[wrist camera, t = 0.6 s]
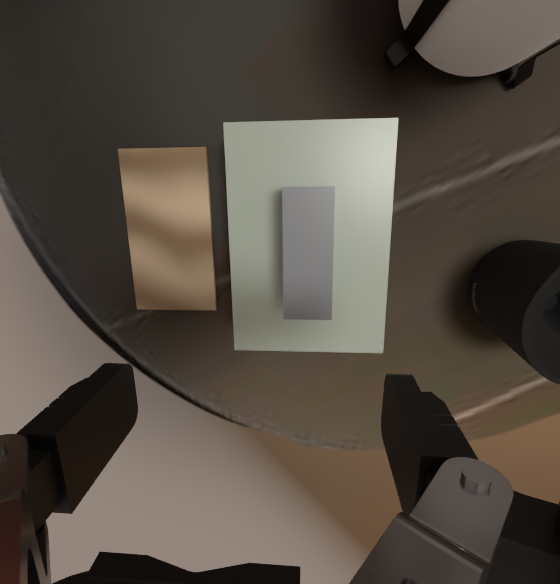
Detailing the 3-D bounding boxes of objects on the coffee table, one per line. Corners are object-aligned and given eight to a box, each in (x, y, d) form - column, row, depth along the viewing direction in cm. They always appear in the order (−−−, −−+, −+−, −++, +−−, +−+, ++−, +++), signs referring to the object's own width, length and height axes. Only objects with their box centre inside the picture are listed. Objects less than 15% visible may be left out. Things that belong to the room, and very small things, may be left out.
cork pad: (119, 149, 34) (117, 148, 33) (207, 147, 33) (206, 146, 33) (138, 308, 38) (136, 309, 37) (216, 309, 37) (216, 310, 37)
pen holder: (502, 216, 33) (582, 228, 23) (595, 263, 33) (711, 294, 24) (443, 308, 35) (493, 353, 26) (530, 350, 36) (611, 410, 26)
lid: (230, 127, 27) (205, 108, 21) (391, 123, 26) (417, 102, 20) (239, 339, 31) (221, 377, 25) (378, 341, 30) (396, 382, 24)
